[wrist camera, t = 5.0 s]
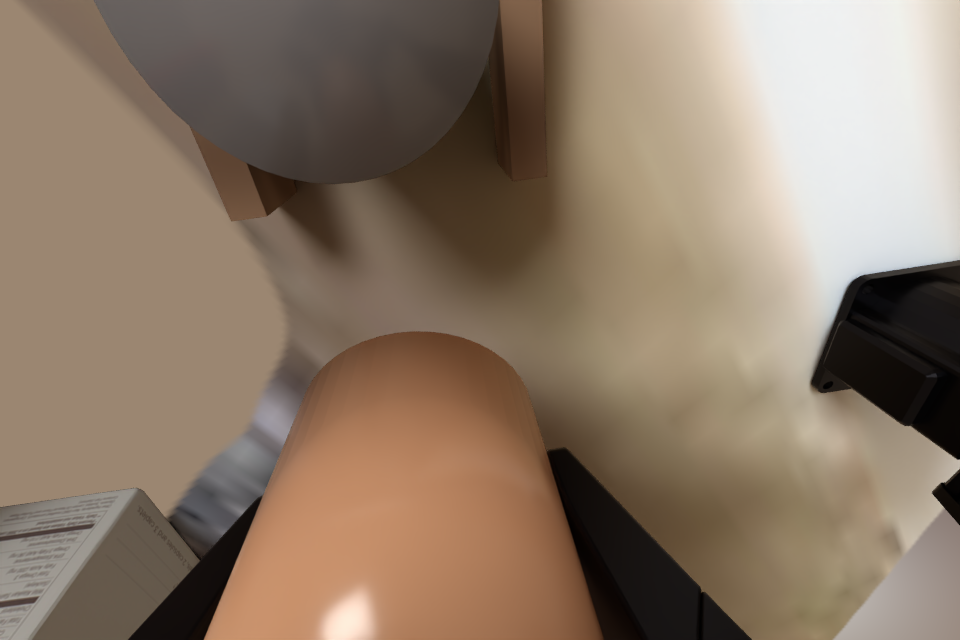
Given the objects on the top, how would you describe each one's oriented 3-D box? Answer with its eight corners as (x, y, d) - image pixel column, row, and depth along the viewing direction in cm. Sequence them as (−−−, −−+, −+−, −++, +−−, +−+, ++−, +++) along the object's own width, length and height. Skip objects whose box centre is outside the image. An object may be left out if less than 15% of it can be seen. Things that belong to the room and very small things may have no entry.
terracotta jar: (532, 306, 8) (805, 918, 2) (542, 486, 11) (673, 966, 5) (251, 348, 8) (-285, 1135, 2) (335, 519, 11) (216, 1056, 5)
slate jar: (450, -119, 11) (476, -401, 4) (476, 124, 14) (514, 159, 7) (226, -93, 10) (-74, -348, 4) (302, 148, 13) (191, 205, 7)
